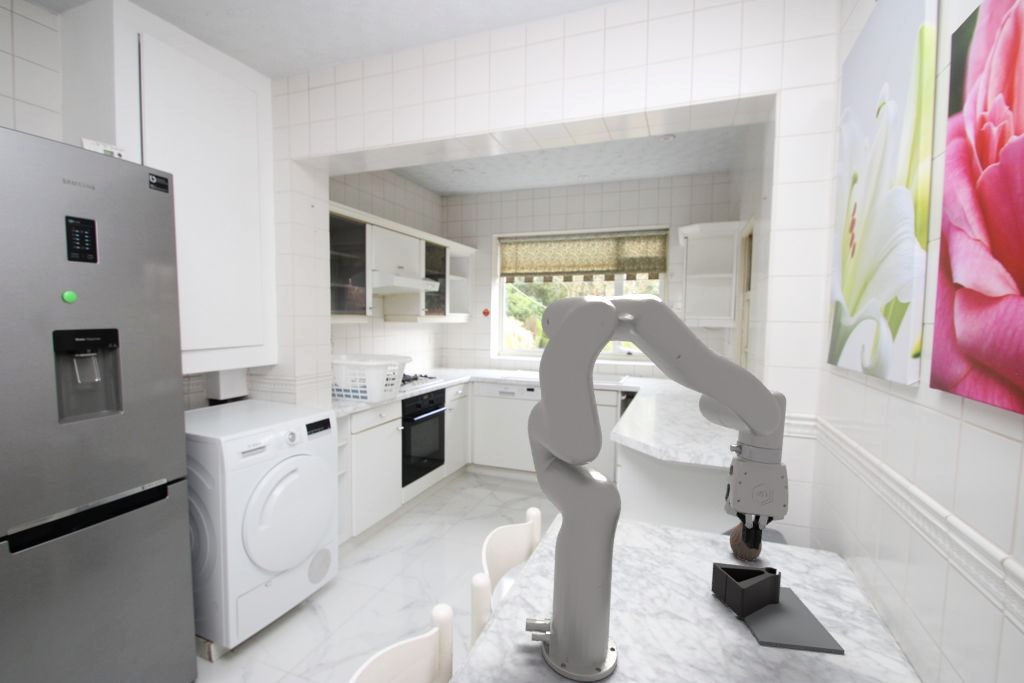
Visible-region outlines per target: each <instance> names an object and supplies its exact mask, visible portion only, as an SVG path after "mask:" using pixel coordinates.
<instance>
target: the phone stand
mask: <svg viewBox="0 0 1024 683" xmlns="http://www.w3.org/2000/svg"><path fill="white" fill-rule="evenodd" d="M777 570H778V569H777V568H774V567H771V566H765V567H757V566H748V565H742V564H741V565H739V564H730V563H721V562H713V563H712V576H711V592H712V593H713V594H714V595H715V596H716V597H717V598H718V599H720V601H721V602H722V603H724V604H725V605H726V606H727V607H728V608H729V609H730V611H732V612H733V613H734V614H735V615H736V616H737V618H739V619H741V620H744V619H743V618H745V617H747V616H749V615H751V614H752V613H754V612H756V611H758V610H760V609H762V608H763V607H765V606H767V605H769V604H778V603H779V597H780V587H781V579H782V572H781V571H778V573H777Z"/></svg>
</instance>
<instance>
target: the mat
mask: <svg viewBox="0 0 1024 683" xmlns="http://www.w3.org/2000/svg"><path fill="white" fill-rule="evenodd" d="M742 620H744V622H745V623H746V625H747V627H748V629H749V630H750V632H751V633H752V635H753V637H754V638H755V640H756V641H757V643H758V644H759V645H763V646H773V647H780V648H781V647H782V648H790V649H799V650H808V651H818V652H827V653H836V654H845V649H844V648H843V647H842V646H841V644H840V643H839V642H838V641H837V640H836V639H835V637H833V635H832V634H831V633H830V632H829V631H828V630H827V628H826V627H825V626H824V625H823V624H822V623H821V622H820V621H819V619H818V618H817V616H815V615H814V614H813V612H812V611H811V610H810V609H809V608H808V607H807V605H806V604H805V603H804V602H803V601H802V600H801V599H800V597H799V596H798V595H797V593H795V592H794V591H793V590H792V588H791V587H787V586H786V587H784V586H780V597H779V603H778V604H769V605H767V606H765V607H763V608H762V609H760V610H758V611H756V612H754V613H752V614H751V615H749V616H747V617H745V618H743V619H742Z"/></svg>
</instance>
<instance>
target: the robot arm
mask: <svg viewBox="0 0 1024 683" xmlns="http://www.w3.org/2000/svg"><path fill="white" fill-rule="evenodd" d="M541 328H542V330H543V331H542V332H543V333H544V335H545V337H546V338H548V341H547V343H546V345H545V347H544V350H543V352H542V355H541V358H540V362H539V369H538V370H539V371H538V377H539V378H538V379H539V387H540V391H541V392H540V394H541V400H539V401H538V402H537V403H536V404H535V405H534V406H533V407H532V409H531V411H530V413H529V416H528V420H527V435H528V440H529V441H528V442H529V446H530V451H531V456H532V462H533V465H534V466H533V467H534V470H535V475H536V479H537V483H538V486H539V489H540V490H541V493H542V494H543V496H544V497H545V498H546V499H547V500H548V501H549V502H550V503H551V504H552V505H553V506H554V507H555V508H556V509H557V510H558V512H560V514H561V518H562V521H561V525H560V528H559V531H558V532H557V536H556V539H555V546H554V569H553V571H554V572H553V593H552V595H553V596H552V611H550V616H549V617H550V618H544V620H543V619H542V620H541V619H537V618H530V617H529V618H525V632H531V641H532V642H541V651H542V655H543V657H544V660H545V661H546V663H547V664H548V665H549V666H550V667H551V669H553V670H554V671H555V672H557V673H558V674H560V675H561V676H563V677H565V678H567V679H570V680H574V681H579V682H586V683H587V682H596V681H600V680H603V679H605V678H606V677H608V676H610V675H611V674H612V673H613V671H615V669H616V667H617V663H618V648H617V645H616V643H615V641H614V640H613V638H612V637H611V636H610V618H611V616H610V615H611V601H612V599H611V598H612V597H611V596H612V578H613V577H612V576H613V557H614V544H615V538H616V531H617V527H618V523H619V519H620V515H621V511H622V498H621V494H620V491H619V489H618V487H617V485H616V484H615V483H614V481H613V480H612V479H611V478H610V477H609V476H608V475H607V474H606V473H604V472H603V471H601V470H600V469H598V468H597V467H595V466H594V465H592V464H591V463H592V462H594V461H595V460H596V459H597V458H598V457H599V455H600V453H601V450H602V445H603V434H602V427H601V423H600V417H599V412H598V406H597V400H596V395H595V388H594V378H593V377H594V376H593V374H594V368H595V365H596V364H595V363H596V362H597V359H598V358H599V356H600V354H601V352H602V351H603V350H604V348H605V347H606V346H608V343H610V342H616V341H618V342H627V343H631V344H633V345H634V346H635V347H636V348H637V349H639V351H641V352H642V353H643V354H644V355H645V356H646V357H647V358H648V359H649V360H650V361H651V362H652V364H654V365H655V366H656V367H657V368H658V369H659V370H660V371H661V372H662V373H663V374H664V375H665V376H666V377H667V378H669V380H672V381H673V382H675V383H676V384H678V385H681V386H682V387H685V388H687V389H690V390H692V391H695V392H697V393H699V394H701V396H700V398H699V399H698V400H699V401H698V408H699V411H700V413H701V415H702V416H703V417H704V418H705V419H706V420H707V421H708V422H709V423H712V424H715V425H717V426H720V427H724V428H726V429H727V428H728V429H732V430H735V431H738V436H737V438H738V439H737V440H736V444H730V446H729V452H733V453H735V454H736V455H733V457H732V459H731V463H730V466H729V469H728V472H727V473H728V474H727V478H726V483H725V490H724V500H725V505H724V508H723V511H724V512H725V513H726V514H727V515H729V516H730V515H731V516H733V517H736V518H738V519H739V521H740V522H741V521H742V523H743V527H742V540H743V541H744V543H745V544H746V545H747V547H748V548H749V549H753V548H754V549H756V550H759V544H761V542H762V538H763V537H762V536H763V530H765V529H766V527H767V526H768V525H769V524H770V523H772V522H773V521H782V520H784V519H785V516H787V514H788V512H789V478H788V470H787V465H786V463H784V462H782V459H783V458H782V456H783V446H784V435H785V425H786V424H785V423H786V412H787V398H786V396H785V394H784V393H782V392H780V391H776V390H773V389H772V390H771V389H769V388H767V386H766V385H765V384H764V383H763V382H762V381H761V380H760V379H759V378H758V377H756V376H755V375H754V374H752V373H751V372H750V371H748V370H747V369H745V368H744V367H742V366H741V365H739V364H738V363H736V362H734V361H732V360H730V359H729V358H728V357H726V356H725V355H723V354H721V353H719V352H718V351H716V350H714V349H712V348H711V347H709V346H707V345H706V344H705V343H704V342H703V341H702V340H701V339H700V338H699V337H698V336H697V335H696V334H695V332H694V331H693V330H691V328H689V326H688V325H687V324H686V323H685V322H684V320H682V318H680V317H679V316H678V315H677V314H676V313H675V311H674V310H673V309H672V308H671V307H670V306H669V305H668V304H667V303H666V302H665V301H664V300H663V299H661V298H660V297H658V296H656V295H654V294H648V293H639V294H627V295H616V296H603V297H602V296H598V295H581V296H570V297H564V298H563V297H562V298H559V299H556V300H553V301H552V302H550V303H549V304H548V305H547V306H546V308H545V309H544V311H543V312H542V316H541Z"/></svg>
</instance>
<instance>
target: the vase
mask: <svg viewBox="0 0 1024 683" xmlns="http://www.w3.org/2000/svg"><path fill="white" fill-rule="evenodd" d="M742 527H743V523H742V521H741V520H740V521H739V523H738V524H737V525H736V526H735V527H733V529H732V530H731V533H730V536H729V545H730V548H731V551H732V552H733V554H734V555H735V556H736V557H737V558H738V557H739V558H738V559H740V558H741V559H740V560H742V559H743V561H745V560H747V561H746V562H753V561H755V560H756V559H758V558H759V556H760V555H761V552H762V549H763V548H762V547H763V543H762V541H761V544H759V550H756V549H754V548H753V549H749V548H748V547H747V545H746V544H745V543H744V541H743V540H742Z"/></svg>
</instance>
